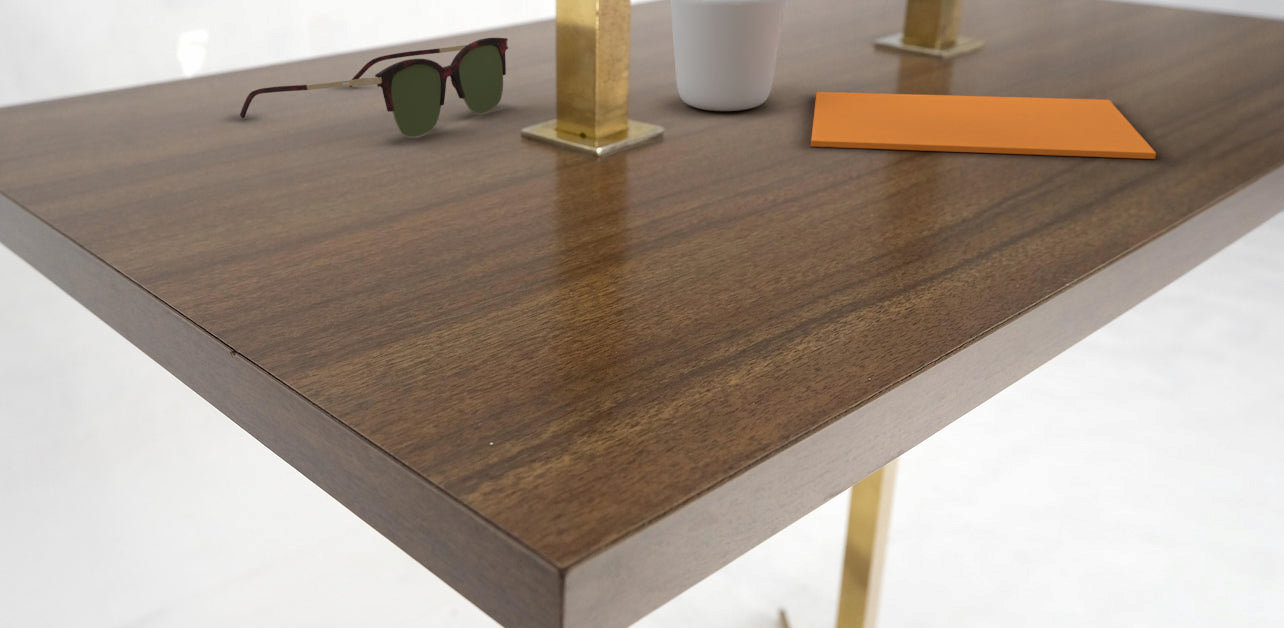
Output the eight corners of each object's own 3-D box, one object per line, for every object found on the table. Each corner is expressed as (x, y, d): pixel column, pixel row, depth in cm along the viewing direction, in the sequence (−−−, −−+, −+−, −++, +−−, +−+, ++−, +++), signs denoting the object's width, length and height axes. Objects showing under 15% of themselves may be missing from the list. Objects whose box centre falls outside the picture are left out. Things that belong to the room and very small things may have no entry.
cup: (711, 81, 91) (715, -26, 88) (809, 91, 87) (817, -21, 84) (648, 110, 83) (650, -7, 79) (753, 122, 79) (759, 0, 75)
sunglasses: (388, 148, 75) (376, 69, 73) (228, 139, 82) (213, 67, 80) (515, 102, 86) (508, 32, 84) (363, 98, 93) (353, 34, 91)
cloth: (1108, 105, 81) (1109, 99, 81) (1155, 159, 69) (1156, 152, 69) (816, 97, 85) (816, 91, 85) (810, 146, 73) (811, 140, 73)
